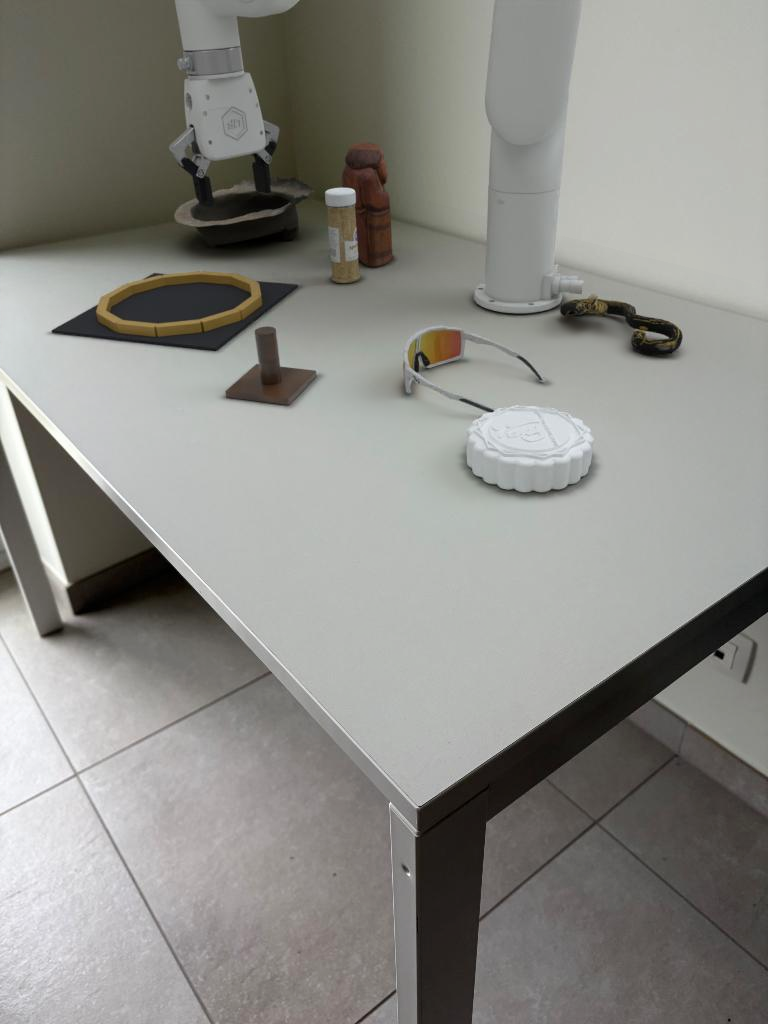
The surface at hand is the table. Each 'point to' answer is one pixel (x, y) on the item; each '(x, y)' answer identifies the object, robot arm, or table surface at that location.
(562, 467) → the mooncake
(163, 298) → the mat
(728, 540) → the table surface
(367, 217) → the wooden figurine
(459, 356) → the sunglasses
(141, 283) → the ring
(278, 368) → the wooden peg stand
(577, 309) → the rubber snake
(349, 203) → the sprinkles bottle
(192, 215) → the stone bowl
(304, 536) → the table surface
